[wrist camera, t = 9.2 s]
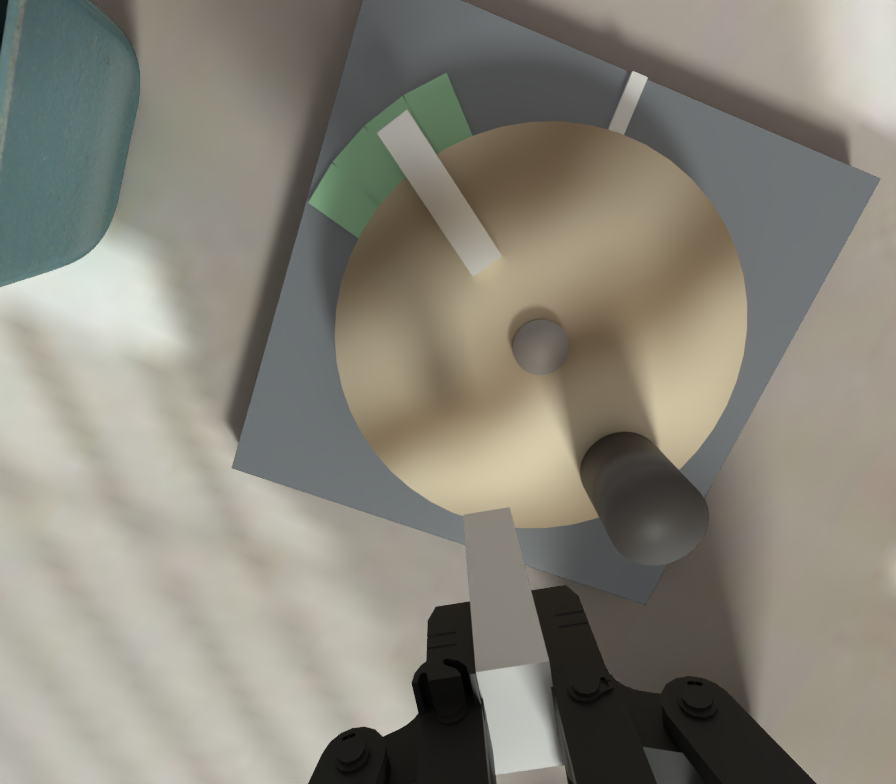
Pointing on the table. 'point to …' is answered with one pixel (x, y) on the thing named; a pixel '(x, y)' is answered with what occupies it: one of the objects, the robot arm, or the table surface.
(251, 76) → the table surface
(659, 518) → the dial
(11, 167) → the flower pot
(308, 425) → the tuner base
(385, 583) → the table surface
